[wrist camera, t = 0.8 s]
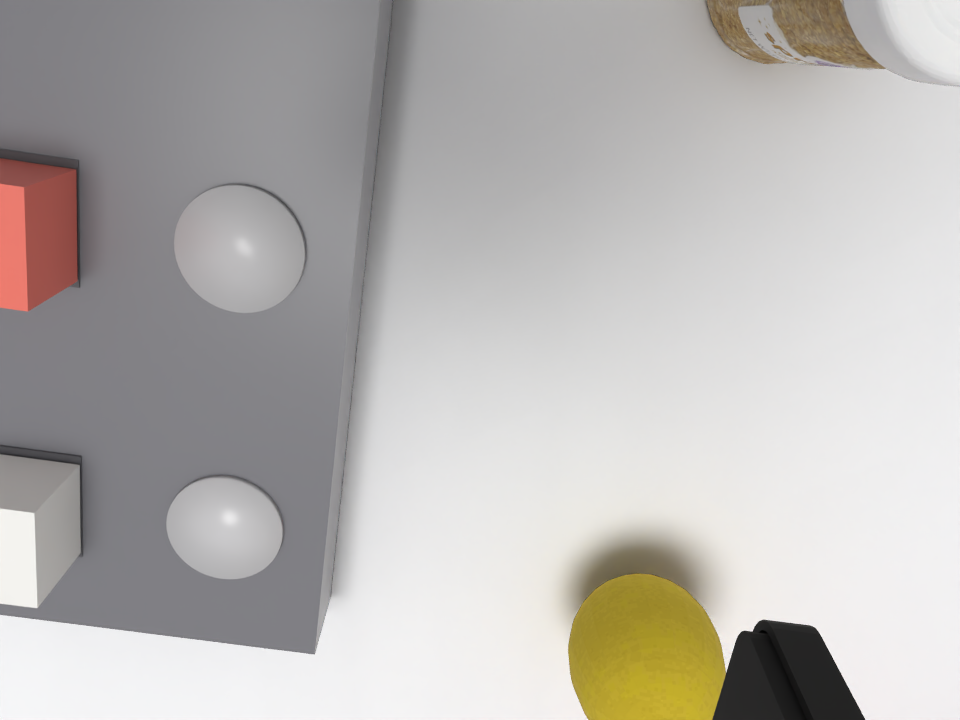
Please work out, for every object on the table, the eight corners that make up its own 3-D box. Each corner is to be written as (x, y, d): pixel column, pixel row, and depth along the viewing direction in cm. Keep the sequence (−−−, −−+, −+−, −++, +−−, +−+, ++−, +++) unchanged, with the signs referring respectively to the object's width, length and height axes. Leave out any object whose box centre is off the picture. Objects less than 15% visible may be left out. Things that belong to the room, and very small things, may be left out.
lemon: (550, 641, 37) (566, 797, 29) (574, 526, 35) (597, 662, 28) (680, 658, 37) (729, 816, 30) (711, 545, 35) (771, 683, 28)
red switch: (-26, 154, 27) (-91, 170, 24) (76, 169, 27) (23, 187, 24) (-20, 267, 28) (-82, 296, 25) (77, 281, 28) (27, 311, 25)
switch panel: (-140, -357, 25) (-242, -421, 22) (420, -262, 26) (409, -308, 22) (-68, 546, 36) (-130, 603, 32) (330, 597, 36) (313, 659, 33)
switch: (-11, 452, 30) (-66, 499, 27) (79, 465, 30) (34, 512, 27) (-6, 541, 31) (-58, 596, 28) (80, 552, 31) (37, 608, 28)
